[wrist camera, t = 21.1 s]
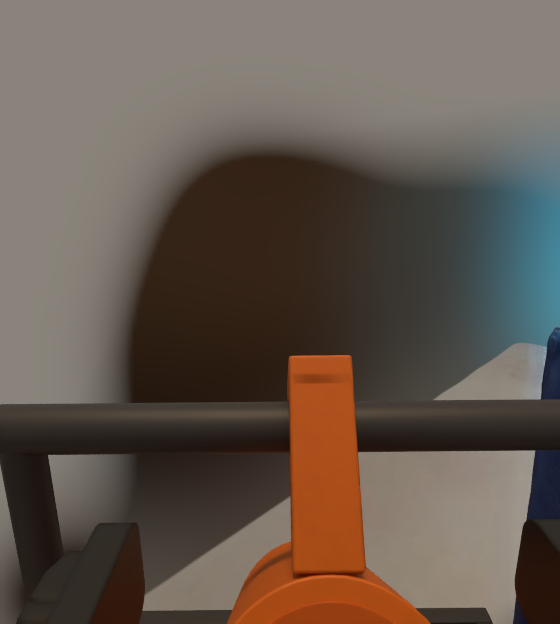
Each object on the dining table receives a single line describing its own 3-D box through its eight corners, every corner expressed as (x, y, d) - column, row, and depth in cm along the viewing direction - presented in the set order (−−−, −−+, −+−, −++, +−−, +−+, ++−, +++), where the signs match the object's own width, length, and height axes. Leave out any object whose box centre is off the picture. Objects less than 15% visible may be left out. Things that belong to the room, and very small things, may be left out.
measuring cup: (392, 715, 16) (512, 951, 8) (232, 716, 16) (180, 954, 8) (368, 413, 20) (431, 353, 12) (239, 414, 20) (209, 355, 12)
